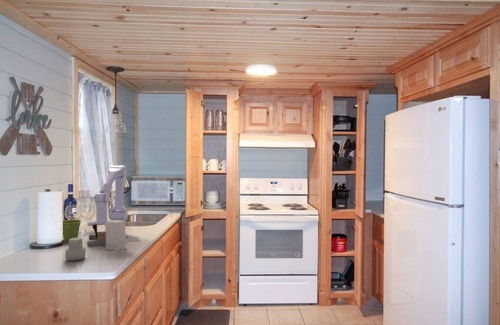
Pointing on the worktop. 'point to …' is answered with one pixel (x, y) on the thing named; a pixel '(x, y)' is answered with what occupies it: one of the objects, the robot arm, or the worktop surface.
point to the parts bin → (95, 241)
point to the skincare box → (115, 235)
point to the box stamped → (101, 235)
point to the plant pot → (70, 229)
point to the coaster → (132, 239)
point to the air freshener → (75, 250)
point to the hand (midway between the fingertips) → (101, 237)
